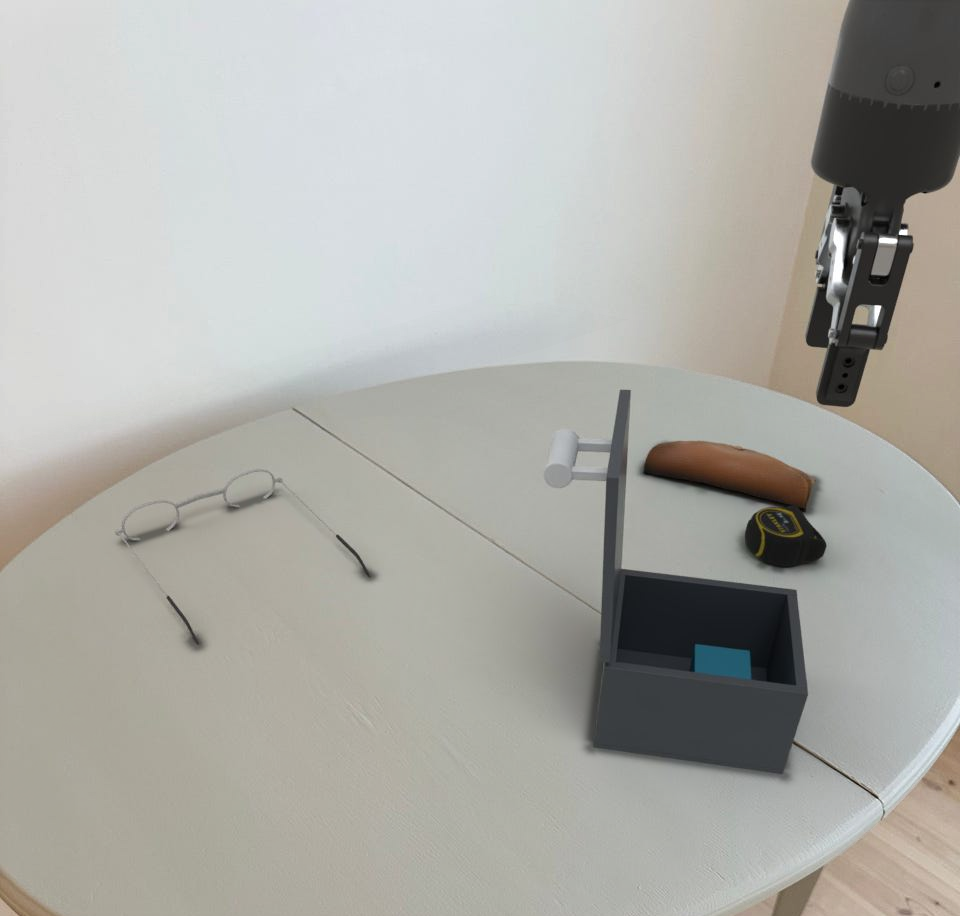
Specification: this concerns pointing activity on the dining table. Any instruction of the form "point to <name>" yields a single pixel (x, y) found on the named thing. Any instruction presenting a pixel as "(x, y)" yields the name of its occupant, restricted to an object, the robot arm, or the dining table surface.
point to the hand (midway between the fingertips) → (826, 372)
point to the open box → (698, 696)
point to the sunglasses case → (731, 470)
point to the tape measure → (783, 537)
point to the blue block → (721, 661)
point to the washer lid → (564, 471)
